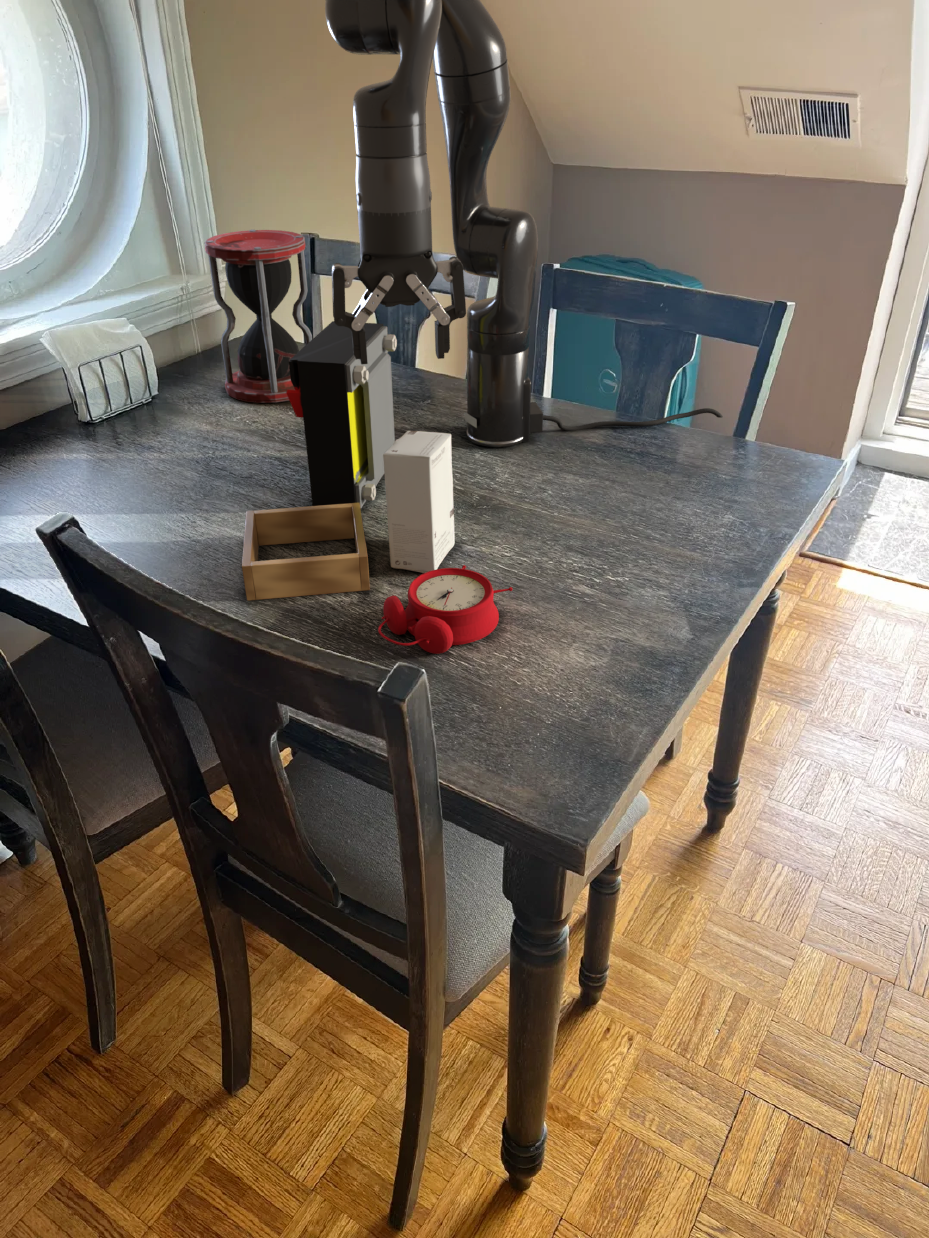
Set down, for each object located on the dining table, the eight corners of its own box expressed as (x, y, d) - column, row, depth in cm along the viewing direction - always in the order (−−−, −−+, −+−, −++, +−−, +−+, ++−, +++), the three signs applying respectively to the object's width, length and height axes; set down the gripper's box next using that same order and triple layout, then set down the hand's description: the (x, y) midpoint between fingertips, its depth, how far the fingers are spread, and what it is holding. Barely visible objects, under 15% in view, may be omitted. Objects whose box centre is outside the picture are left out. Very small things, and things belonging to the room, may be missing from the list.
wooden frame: (361, 534, 121) (359, 502, 118) (370, 590, 109) (367, 556, 107) (250, 542, 119) (246, 510, 116) (247, 600, 107) (241, 566, 105)
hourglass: (224, 377, 172) (203, 231, 158) (313, 370, 175) (299, 226, 162) (227, 407, 159) (204, 252, 145) (323, 399, 162) (309, 246, 148)
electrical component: (371, 512, 126) (361, 364, 115) (299, 506, 128) (282, 360, 117) (404, 460, 140) (398, 324, 129) (339, 455, 142) (327, 321, 131)
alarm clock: (525, 586, 102) (430, 614, 92) (516, 638, 105) (421, 671, 94) (456, 554, 108) (358, 577, 98) (448, 604, 111) (352, 631, 100)
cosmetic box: (435, 576, 112) (431, 459, 104) (387, 568, 113) (380, 453, 105) (456, 543, 118) (454, 431, 110) (410, 537, 120) (406, 426, 112)
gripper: (456, 193, 100) (459, 345, 109) (321, 199, 98) (335, 353, 107) (469, 206, 94) (470, 366, 103) (325, 213, 92) (339, 375, 101)
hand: (401, 359), depth 105 cm, fingers open, 8 cm apart
